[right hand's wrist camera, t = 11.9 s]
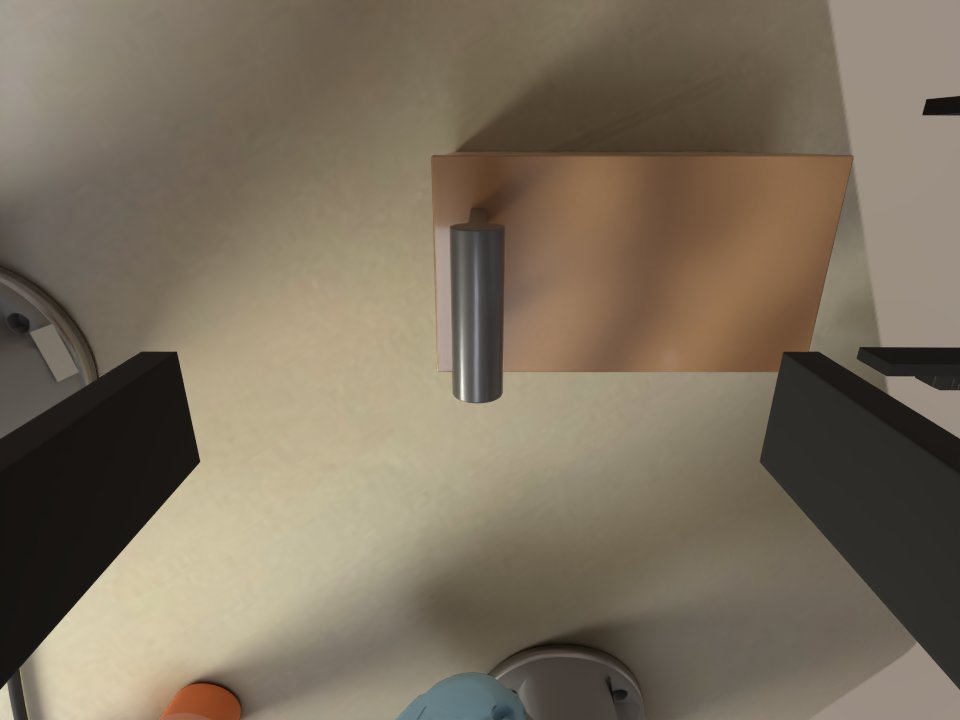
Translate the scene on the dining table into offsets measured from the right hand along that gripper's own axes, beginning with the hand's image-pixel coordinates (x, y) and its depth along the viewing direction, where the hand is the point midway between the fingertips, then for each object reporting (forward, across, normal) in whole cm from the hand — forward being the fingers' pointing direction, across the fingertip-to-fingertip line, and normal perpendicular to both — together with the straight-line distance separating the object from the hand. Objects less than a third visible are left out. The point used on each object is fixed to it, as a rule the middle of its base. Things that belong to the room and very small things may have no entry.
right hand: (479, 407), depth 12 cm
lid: (+15, -7, 0) cm, 17 cm away
